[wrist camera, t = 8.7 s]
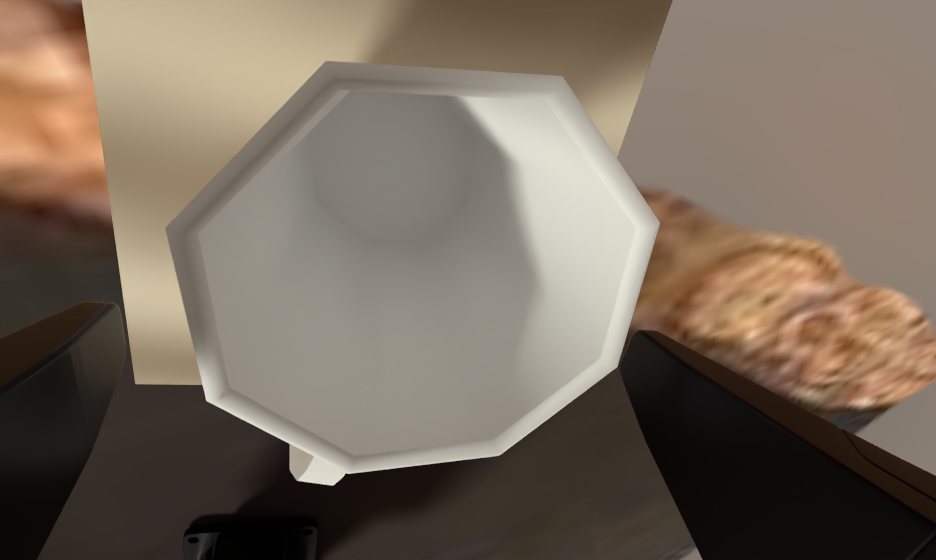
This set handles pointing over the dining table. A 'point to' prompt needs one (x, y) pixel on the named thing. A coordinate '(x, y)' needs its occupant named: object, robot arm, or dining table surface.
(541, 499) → the dining table surface
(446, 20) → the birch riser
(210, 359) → the cup
